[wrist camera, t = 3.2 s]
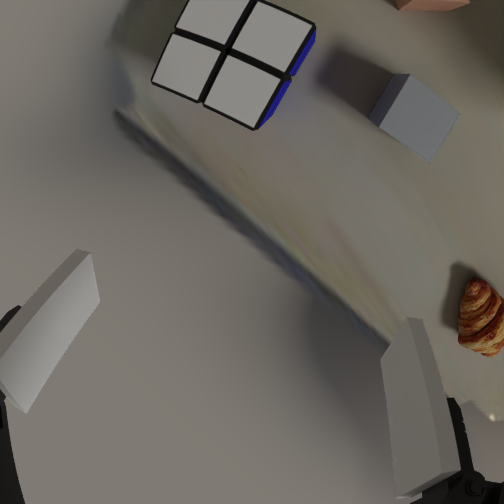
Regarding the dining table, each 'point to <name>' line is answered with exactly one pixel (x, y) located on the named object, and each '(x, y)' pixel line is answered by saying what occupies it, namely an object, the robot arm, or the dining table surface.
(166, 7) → the dining table surface
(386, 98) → the slate grey block
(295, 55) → the puzzle cube
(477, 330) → the croissant
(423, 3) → the terracotta block
